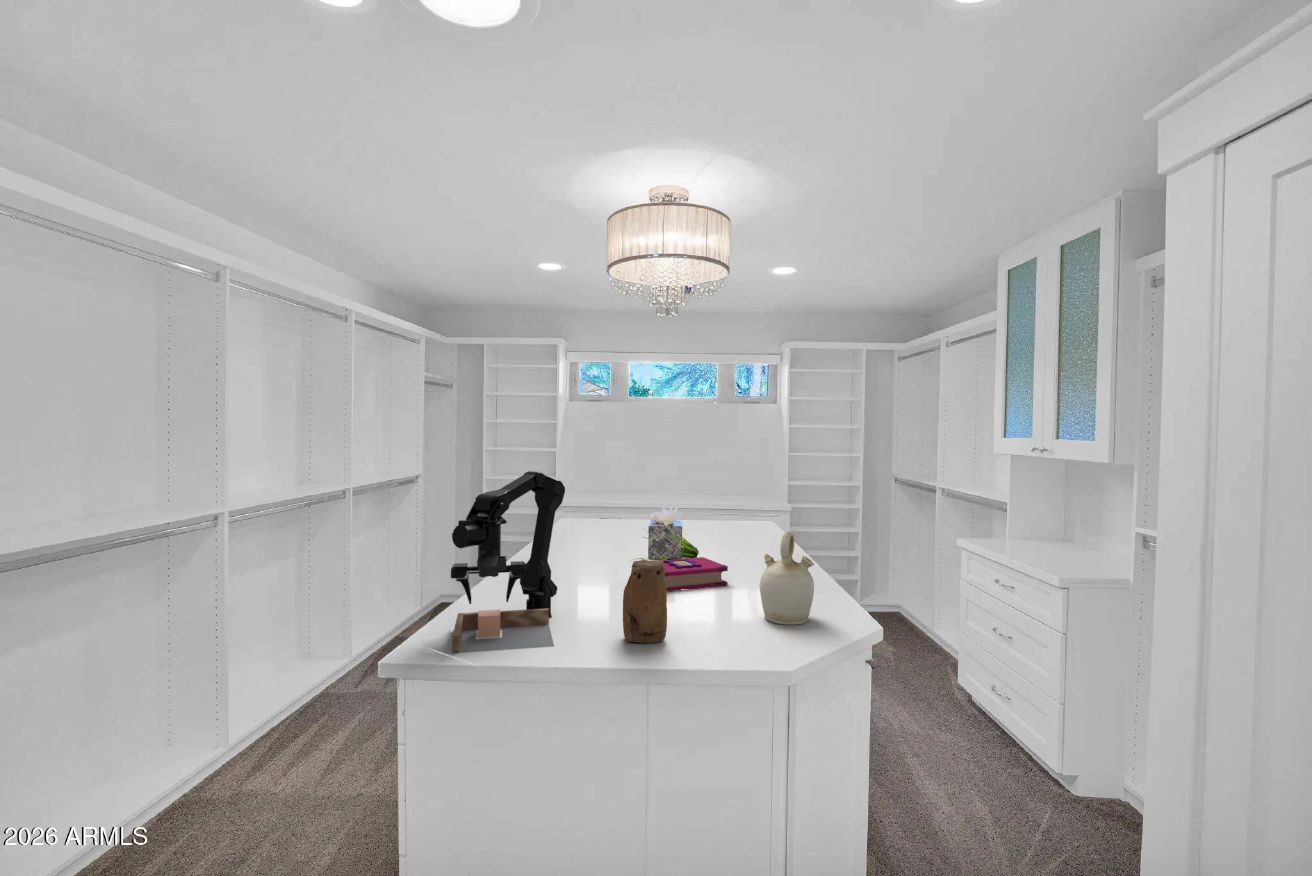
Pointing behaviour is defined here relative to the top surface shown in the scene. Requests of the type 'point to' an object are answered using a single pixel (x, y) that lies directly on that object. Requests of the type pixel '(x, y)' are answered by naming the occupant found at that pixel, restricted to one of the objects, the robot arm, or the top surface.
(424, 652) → the top surface
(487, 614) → the cube
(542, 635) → the mat
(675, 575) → the book
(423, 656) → the top surface
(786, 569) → the jug
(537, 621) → the corner walls
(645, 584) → the brown carved figurine
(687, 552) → the decorative plant
